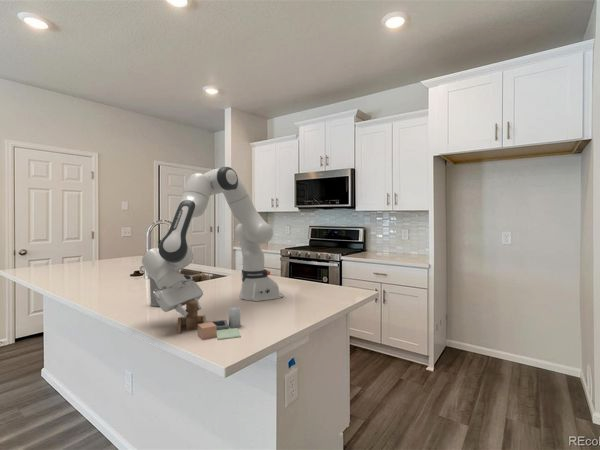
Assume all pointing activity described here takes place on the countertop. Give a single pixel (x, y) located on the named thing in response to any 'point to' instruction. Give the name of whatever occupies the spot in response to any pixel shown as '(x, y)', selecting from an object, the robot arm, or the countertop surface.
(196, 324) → the walnut block
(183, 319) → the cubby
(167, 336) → the countertop surface
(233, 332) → the green pad
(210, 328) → the terracotta block
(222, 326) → the hole frame
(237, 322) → the grey jar
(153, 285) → the skincare box
